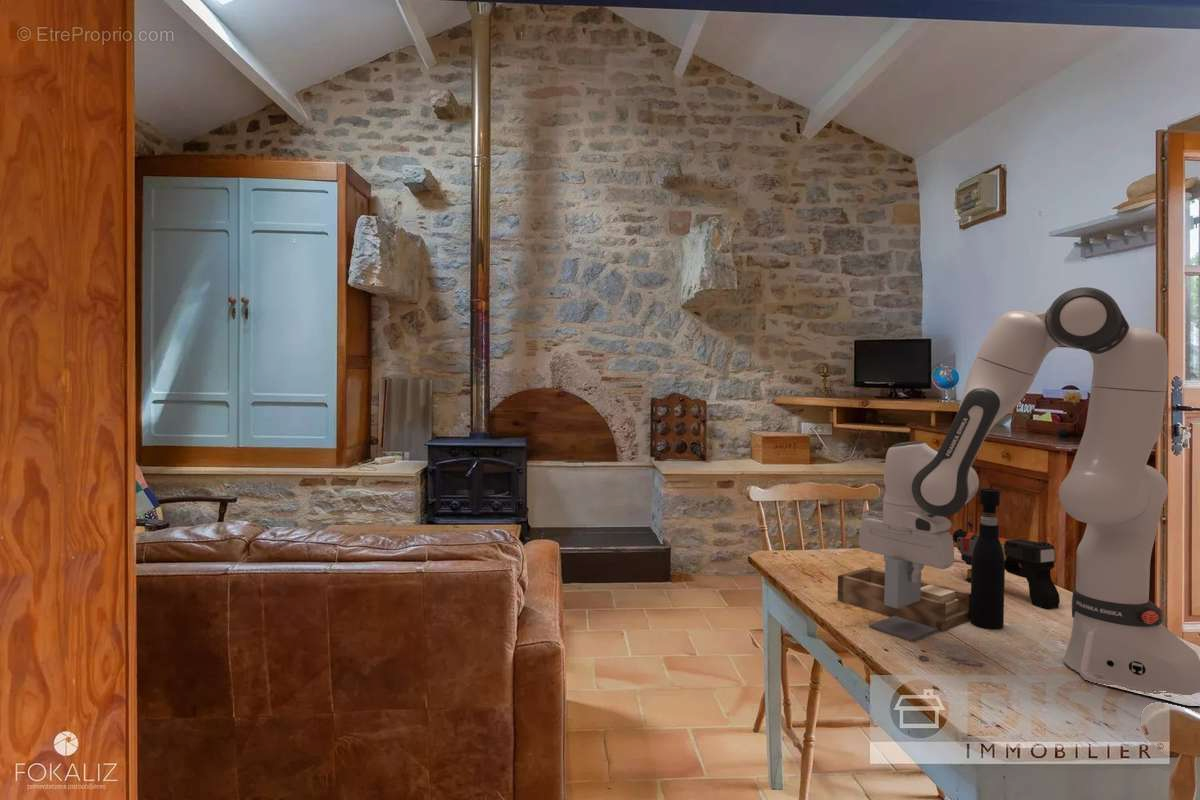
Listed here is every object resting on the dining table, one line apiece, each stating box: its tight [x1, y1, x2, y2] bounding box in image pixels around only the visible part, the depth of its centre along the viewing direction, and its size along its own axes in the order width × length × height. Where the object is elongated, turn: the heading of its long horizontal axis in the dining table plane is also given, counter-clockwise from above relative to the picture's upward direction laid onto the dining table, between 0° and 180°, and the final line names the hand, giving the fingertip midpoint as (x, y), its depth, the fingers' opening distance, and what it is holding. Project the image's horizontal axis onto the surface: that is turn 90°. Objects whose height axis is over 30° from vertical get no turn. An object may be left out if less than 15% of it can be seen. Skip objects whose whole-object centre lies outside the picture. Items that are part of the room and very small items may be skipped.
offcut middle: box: [945, 599, 959, 616], centre depth 158 cm, size 7×7×2 cm
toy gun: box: [952, 527, 1061, 609], centre depth 178 cm, size 6×28×15 cm, turn 19°
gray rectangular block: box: [884, 557, 922, 609], centre depth 151 cm, size 3×9×10 cm, turn 126°
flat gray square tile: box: [868, 616, 939, 642], centre depth 151 cm, size 10×10×1 cm
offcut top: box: [920, 585, 955, 603], centre depth 158 cm, size 6×6×2 cm
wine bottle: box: [969, 488, 1006, 631], centre depth 154 cm, size 6×6×30 cm
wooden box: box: [837, 567, 971, 632], centre depth 164 cm, size 26×13×6 cm, turn 36°
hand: (903, 579), depth 151 cm, fingers closed on gray rectangular block, 3 cm apart
